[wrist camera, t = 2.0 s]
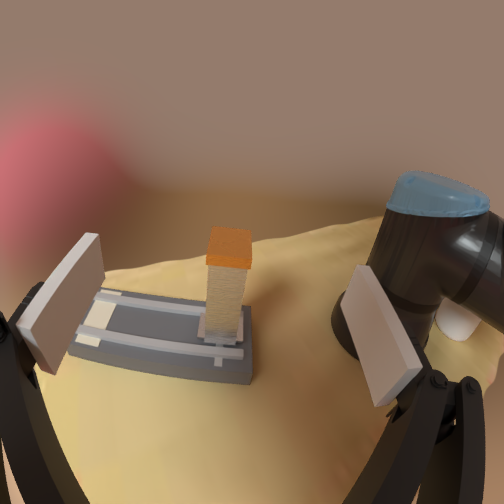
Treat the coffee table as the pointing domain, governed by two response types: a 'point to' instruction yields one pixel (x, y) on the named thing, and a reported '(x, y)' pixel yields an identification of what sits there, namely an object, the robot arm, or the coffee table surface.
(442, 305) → the mug
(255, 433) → the coffee table surface
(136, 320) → the console
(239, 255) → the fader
